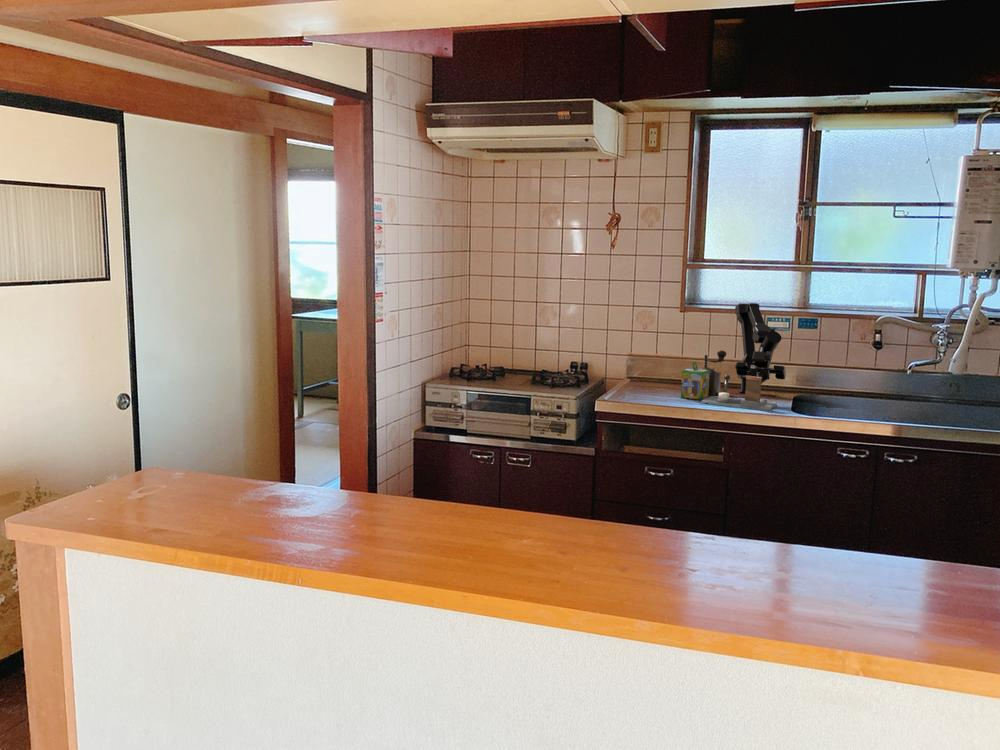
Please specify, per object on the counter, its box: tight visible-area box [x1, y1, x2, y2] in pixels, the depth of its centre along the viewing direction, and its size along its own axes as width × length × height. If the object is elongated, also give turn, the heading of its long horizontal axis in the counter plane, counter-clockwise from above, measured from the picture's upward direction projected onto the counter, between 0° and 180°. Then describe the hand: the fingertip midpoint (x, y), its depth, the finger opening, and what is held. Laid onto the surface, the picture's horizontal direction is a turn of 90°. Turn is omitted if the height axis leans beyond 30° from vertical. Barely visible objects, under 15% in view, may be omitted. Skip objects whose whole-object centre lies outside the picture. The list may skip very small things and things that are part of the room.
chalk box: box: [680, 361, 710, 401], centre depth 347 cm, size 9×9×15 cm
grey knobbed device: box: [699, 350, 727, 396], centre depth 358 cm, size 16×11×18 cm
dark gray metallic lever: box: [722, 374, 731, 393], centre depth 340 cm, size 2×2×8 cm
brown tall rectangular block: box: [744, 375, 762, 403], centre depth 328 cm, size 3×5×11 cm, turn 60°
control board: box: [700, 391, 778, 412], centre depth 334 cm, size 14×26×4 cm, turn 60°
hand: (755, 387), depth 332 cm, fingers closed
